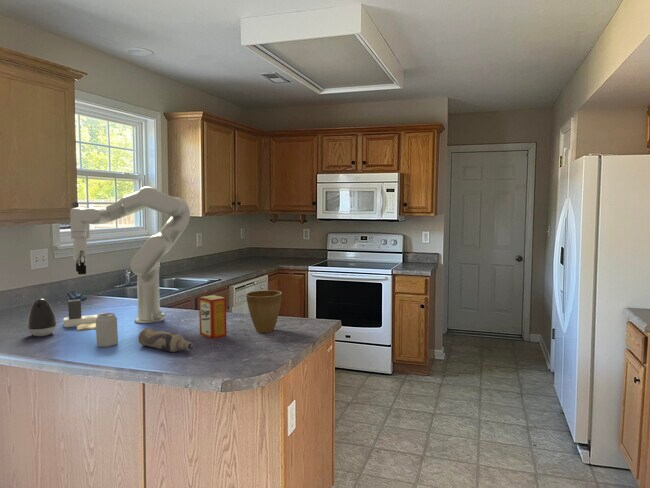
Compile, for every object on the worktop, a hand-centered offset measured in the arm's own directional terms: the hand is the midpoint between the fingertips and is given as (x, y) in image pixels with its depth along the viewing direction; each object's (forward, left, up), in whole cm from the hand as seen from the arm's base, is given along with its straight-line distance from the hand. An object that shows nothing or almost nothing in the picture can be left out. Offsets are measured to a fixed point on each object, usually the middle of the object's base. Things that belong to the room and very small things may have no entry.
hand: (81, 272), depth 225 cm
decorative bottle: (-67, +18, -23) cm, 73 cm away
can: (-42, +22, -23) cm, 52 cm away
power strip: (-4, +1, -23) cm, 23 cm away
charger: (-1, +5, -20) cm, 20 cm away
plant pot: (-85, -21, -23) cm, 90 cm away
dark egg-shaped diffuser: (-4, +22, -23) cm, 32 cm away
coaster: (-11, +7, -23) cm, 26 cm away
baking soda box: (-70, -6, -23) cm, 74 cm away
